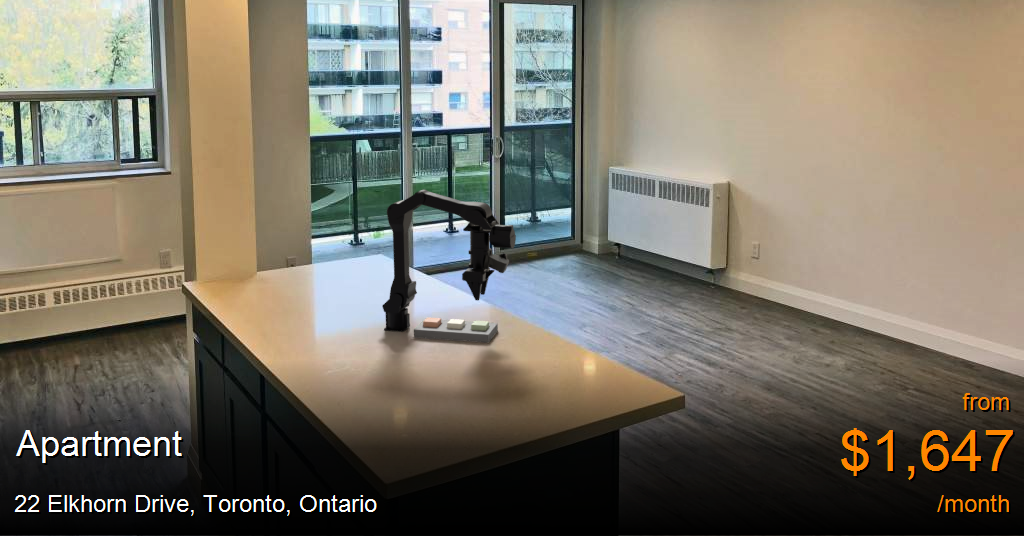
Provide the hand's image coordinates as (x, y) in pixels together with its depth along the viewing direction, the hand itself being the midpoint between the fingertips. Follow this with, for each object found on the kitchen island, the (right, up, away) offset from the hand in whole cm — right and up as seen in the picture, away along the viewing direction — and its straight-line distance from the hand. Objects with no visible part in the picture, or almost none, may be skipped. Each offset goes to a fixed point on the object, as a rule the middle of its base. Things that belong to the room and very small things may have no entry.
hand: (480, 297), depth 282 cm
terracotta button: (-15, -9, +5) cm, 18 cm away
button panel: (-7, -11, +4) cm, 14 cm away
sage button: (0, -10, +2) cm, 11 cm away
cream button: (-7, -10, +4) cm, 13 cm away
